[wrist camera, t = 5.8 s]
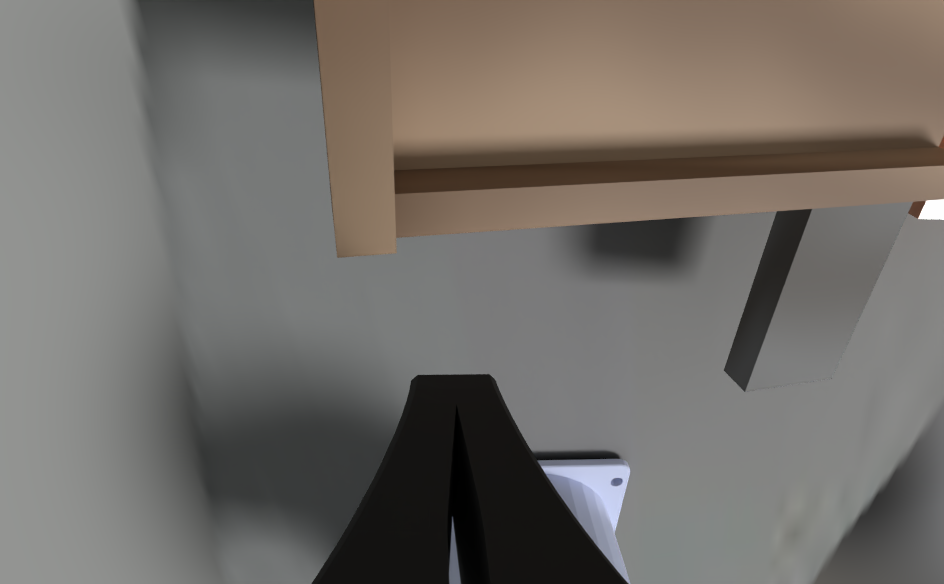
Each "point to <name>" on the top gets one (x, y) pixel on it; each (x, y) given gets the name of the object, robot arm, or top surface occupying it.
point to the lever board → (647, 135)
